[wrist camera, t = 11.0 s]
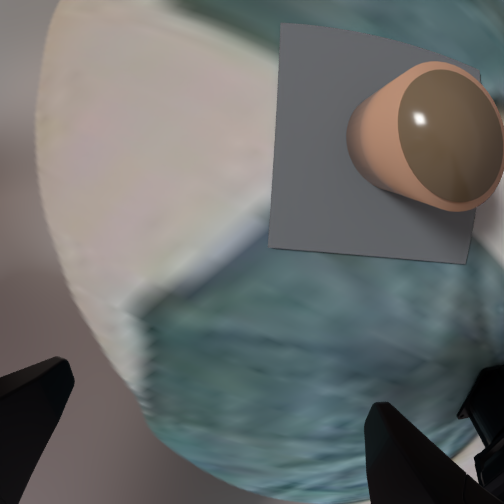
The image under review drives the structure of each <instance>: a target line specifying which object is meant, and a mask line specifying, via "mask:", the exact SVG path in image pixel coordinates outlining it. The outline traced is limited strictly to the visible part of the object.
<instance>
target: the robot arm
mask: <svg viewBox="0 0 504 504" xmlns="http://www.w3.org/2000/svg"><path fill="white" fill-rule="evenodd" d="M74 382H75V380H74V376H73V373H72V370H71V368H70V364H69V362H68V361H67V360H66V359H64V358H61V357H58V356H56V357H53V358H50V359H47V360H45V361H42V362H40V363H37V364H35V365H32V366H29V367H27V368H24V369H21V370H19V371H16V372H13V373H11V374H8V375H5V376H3V377H0V504H19V501H20V499H21V497H22V495H23V492H24V490H25V488H26V486H27V483H28V481H29V479H30V477H31V475H32V473H33V471H34V469H35V467H36V465H37V463H38V460H39V459H40V457H41V454H42V453H43V451H44V449H45V447H46V445H47V443H48V441H49V439H50V437H51V435H52V433H53V431H54V429H55V428H56V426H57V424H58V422H59V420H60V417H61V415H62V413H63V410H64V408H65V405H66V403H67V401H68V398H69V396H70V394H71V391H72V389H73V387H74ZM468 417H469V418H470V419H471V421H472V423H473V425H474V427H475V429H476V431H477V432H478V434H479V436H480V438H481V440H482V442H483V444H484V446H485V449H484V450H483V451H482V452H480V453H478V454H477V455H476V456H475V457H474V461H475V468H476V472H477V477H478V482H479V484H478V483H477V482H476V481H475V480H474V479H473V478H472V477H470V476H469V475H468V474H467V475H466V472H465V471H464V470H462V469H461V468H460V467H459V466H458V465H457V464H456V463H455V462H454V461H452V460H451V459H450V458H449V457H448V456H447V455H446V454H445V453H444V452H442V451H441V450H440V449H439V448H438V447H437V446H436V445H435V444H434V443H433V442H431V441H430V440H429V439H428V438H427V437H426V436H425V435H424V434H423V433H422V432H421V431H419V430H418V429H417V428H416V427H415V426H414V425H413V424H412V423H411V422H410V421H409V420H408V419H406V418H405V417H404V416H403V415H402V414H401V413H400V412H399V411H398V410H397V409H396V408H395V407H393V406H392V405H391V404H390V403H389V402H376V403H374V404H373V405H372V407H371V409H370V412H369V414H368V416H367V419H366V421H365V425H364V434H365V453H366V474H367V481H368V488H369V494H370V501H371V504H504V365H502V366H496V367H490V368H485V369H483V370H482V371H481V373H480V375H479V377H478V379H477V381H476V382H475V384H474V386H473V388H472V390H471V392H470V394H469V395H468V397H467V399H466V401H465V402H464V404H463V406H462V407H461V409H460V411H459V412H458V414H457V418H458V419H464V418H468Z"/></svg>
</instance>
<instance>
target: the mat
mask: <svg viewBox="0 0 504 504" xmlns="http://www.w3.org/2000/svg"><path fill="white" fill-rule="evenodd" d="M430 61H439V62H446V63H449V64H452V65H455V66H457V67H459V68H461V69H463V70H465V71H466V72H468V73H469V74H471V75H472V76H473V77H474V78H476V79H477V80H478V81H479V82H480V71H479V70H478V69H476V68H473V67H471V66H469V65H466V64H464V63H461V62H459V61H456V60H454V59H451V58H449V57H446V56H443V55H441V54H438V53H435V52H432V51H429V50H426V49H423V48H420V47H416V46H413V45H410V44H406V43H403V42H399V41H395V40H391V39H387V38H383V37H379V36H374V35H370V34H365V33H360V32H355V31H349V30H343V29H337V28H330V27H322V26H314V25H304V24H292V23H281V28H280V51H279V72H278V92H277V111H276V129H275V146H274V163H273V179H272V194H271V209H270V224H269V238H268V248H280V249H292V250H305V251H317V252H329V253H341V254H353V255H365V256H377V257H388V258H400V259H411V260H423V261H434V262H445V263H456V264H465V263H466V259H467V255H468V250H469V246H470V241H471V236H472V230H473V225H474V219H475V212H476V207H475V208H473V209H471V210H467V211H461V212H453V211H447V210H443V209H440V208H437V207H434V206H431V205H428V204H426V203H423V202H420V201H417V200H414V199H411V198H408V197H405V196H402V195H398V194H395V193H392V192H389V191H386V190H383V189H380V188H378V187H376V186H374V185H372V184H371V183H369V182H368V181H367V180H366V179H364V178H363V177H362V176H361V174H360V173H359V172H358V171H357V169H356V168H355V166H354V164H353V163H352V161H351V158H350V156H349V152H348V149H347V142H346V132H347V126H348V122H349V119H350V117H351V115H352V113H353V111H354V110H355V109H356V107H357V106H358V105H359V104H360V103H361V102H363V101H364V100H365V99H367V98H368V97H370V96H371V95H373V94H374V93H375V92H377V91H378V90H380V89H381V88H383V87H384V86H385V85H387V84H388V83H390V82H391V81H393V80H394V79H396V78H397V77H399V76H400V75H402V74H403V73H405V72H406V71H408V70H409V69H411V68H412V67H414V66H416V65H418V64H421V63H425V62H430ZM480 83H481V82H480Z"/></svg>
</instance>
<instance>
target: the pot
mask: <svg viewBox="0 0 504 504" xmlns="http://www.w3.org/2000/svg"><path fill="white" fill-rule="evenodd" d="M346 142H347V149H348V152H349V156H350V158H351V161H352V163H353V164H354V166H355V168H356V169H357V171H358V172H359V173H360V174H361V176H362V177H363V178H364V179H366V180H367V181H368V182H369V183H371V184H372V185H374V186H376V187H378V188H380V189H383V190H386V191H389V192H392V193H395V194H398V195H402V196H405V197H408V198H411V199H414V200H417V201H420V202H423V203H426V204H428V205H431V206H434V207H437V208H440V209H443V210H447V211H453V212H461V211H467V210H471V209H473V208H475V207H478V206H479V205H481V204H482V203H484V202H485V201H486V200H487V199H488V198H489V197H490V196H491V195H492V193H493V192H494V191H495V189H496V187H497V186H498V184H499V182H500V180H501V177H502V174H503V171H504V126H503V122H502V119H501V116H500V114H499V111H498V109H497V107H496V105H495V103H494V101H493V99H492V98H491V96H490V95H489V93H488V92H487V91H486V89H485V88H484V87H483V86H482V84H481V83H480V82H479V81H478V80H477V79H476V78H474V77H473V76H472V75H471V74H469V73H468V72H466V71H465V70H463V69H461V68H459V67H457V66H455V65H452V64H449V63H446V62H439V61H430V62H425V63H421V64H418V65H416V66H414V67H412V68H411V69H409V70H408V71H406V72H405V73H403V74H402V75H400V76H399V77H397V78H396V79H394V80H393V81H391V82H390V83H388V84H387V85H385V86H384V87H383V88H381V89H380V90H378V91H377V92H375V93H374V94H373V95H371V96H370V97H368V98H367V99H365V100H364V101H363V102H361V103H360V104H359V105H358V106H357V107H356V109H355V110H354V111H353V113H352V115H351V117H350V119H349V122H348V126H347V132H346Z"/></svg>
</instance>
